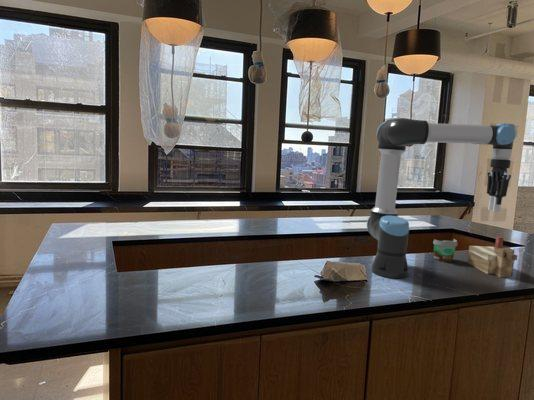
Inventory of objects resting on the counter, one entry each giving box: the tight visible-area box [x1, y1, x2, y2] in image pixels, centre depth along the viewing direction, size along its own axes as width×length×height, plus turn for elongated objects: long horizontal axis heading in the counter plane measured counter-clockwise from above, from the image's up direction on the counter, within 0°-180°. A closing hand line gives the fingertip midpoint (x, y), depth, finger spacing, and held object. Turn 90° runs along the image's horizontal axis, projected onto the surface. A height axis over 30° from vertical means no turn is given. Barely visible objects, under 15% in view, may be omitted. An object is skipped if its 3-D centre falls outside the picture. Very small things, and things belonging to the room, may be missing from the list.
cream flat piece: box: [468, 245, 516, 263], centre depth 177 cm, size 12×15×4 cm
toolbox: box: [467, 247, 515, 279], centre depth 175 cm, size 11×20×12 cm, turn 2°
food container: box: [432, 238, 458, 263], centre depth 186 cm, size 12×6×10 cm, turn 105°
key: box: [494, 236, 518, 261], centre depth 167 cm, size 2×12×7 cm, turn 2°
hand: (493, 210), depth 176 cm, fingers open, 3 cm apart
